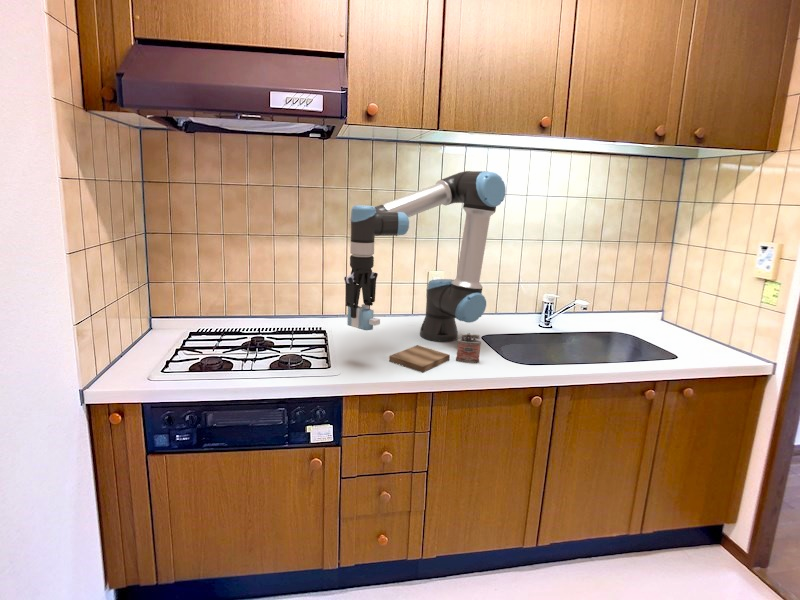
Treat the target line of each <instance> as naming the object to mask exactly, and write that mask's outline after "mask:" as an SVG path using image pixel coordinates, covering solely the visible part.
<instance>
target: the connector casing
mask: <svg viewBox="0 0 800 600" xmlns="http://www.w3.org/2000/svg"><path fill="white" fill-rule="evenodd" d="M358 308H360V309H359V328H358V329H359V330H362V331H372V330H373V329H374V327H375V326H379V325H381V319H380V318H377V317H374V314H375V313H374V309H371V308H370V309H367V308H364V307H362V306H360V305H358ZM351 319H352V317H351V308H350V307H348V306H347V323H346V324H347V326H349V327H352V326H351Z"/></svg>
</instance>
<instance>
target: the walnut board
mask: <svg viewBox="0 0 800 600" xmlns="http://www.w3.org/2000/svg"><path fill="white" fill-rule="evenodd" d="M450 357H451V356H450V354H448V353H445V352H442V351H438V350H435V349H432V348H429V347H425V346H422V345H418V344H417V345H413V346H412V347H409V348H406V349H403V350H401V351H399V352H396V353H393V354H390V355H389V362H390V361H391V362H390V363H393V362H394V363H393V364H396V363H397V365H399V364H400V365H399V366H402V365H403V366H402V367H405V366H406V367H405V368H408V369H411V370H413V371H417V372H420V373H425V372H427V371H429V370H432V369H433V368H435V367H437V366H440V365H442V364H444V363H446V362H449V361H450Z"/></svg>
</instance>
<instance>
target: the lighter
mask: <svg viewBox="0 0 800 600" xmlns="http://www.w3.org/2000/svg"><path fill="white" fill-rule="evenodd" d="M480 337H481V336H480V335H479V334H473V333H472V334H471V333H470V332H469V333H461V338H457V352H456V357H455V360H456V362H460V363H466V364H468V363H469V364H479V363H480V351H481V345H482V341H481V340H480Z"/></svg>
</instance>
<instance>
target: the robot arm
mask: <svg viewBox="0 0 800 600" xmlns="http://www.w3.org/2000/svg"><path fill="white" fill-rule="evenodd" d="M506 191H507V190H506V184H505V182H504V180H503V178H502V176H500V175H499V174H498V173H497V172H491V171H488V170H487V171H485V170H484V171H478V170H477V171H474V170H473V171H471V170H465V171H461V172H460V171H459V172H457V173H455V174H452V175H449V176H447V177H444V178H441V179H439V180H437V181H436V182H435V184H433V185H431V186H428V187H426V188H423V189H420V190H417V191H414V192H412V193H410V194H407V195H404V196H401V197H399V198H396V199H393V200H391V201H387V202H385V203H382V204H379V205H376V206H373V205H366V204H365V205H362V204H361V205H358V204H357V205H353V206H352V208H351V214H350V219H349V220H350V245H349V247H350V249H349V250H350V254H351V255H350V257H349V267H350V268H351V271H350V275H348V276H344V278H343V279H344V283H345V306H346V307H347V308H348V307H350V308H351V317H352V319H351V326H350V327H351V328H356V329H359V309H360V308H358V306H359V302H360V295H361V293H362V302H363V304H361V307H364V308H367V309H371V307H372V306H373V304H374V303H375V301H376V289H377V278H378V275H379V274H378V273H377V272H373V270H372V269H373V268H374V266H375V265H374V263H375V262H374V261H375V257H374V255H375V237H378V236H379V237H380V236H389V237H390V236H391V237H392V236H393V237H394V236H395V237H397V236H404V235H406V234H407V232H408V231H409V228H410V220H409V218H411V217H413V216H415V215H418V214H420V213H421V214H422V213H423V212H426V211H429V210H432V209H434V208H436V207H439V206H441V205H443V206H449V205H452V204H453V205H454V204H459V203H460V204H463V205H462V209H463V211H464V212H465V214H466V215H465V220H464V227H463V232H462V239H461V244H460V245H461V246H460V252H459V258H458V265H457V270H456V277H455V279H452V278H451V279H450V278H449V279H448V278H441V279H439V278H438V279H431V280H429V281H428V283H427V288H426V303H425V306H426V307H425V317H424V320H423V321H422V325H421V327H420V331H419V336H420V337H421V338H423V339H425V340H428V341H433V342H441V343H442V342H444V343H445V342H453V341H456V340H458V339H459V338H458V336H459V331H458V326H457V323H456V320H458V321H460V322H464V323H469V324H470V323H474V322H476V321H477V320H479V318H481V317H483V315H484V314H485V311H486V308H487V299H486V297H485V295H483V293H482V292H483V285H482V284H481V282H480V279H481V275H482V268H483V267H482V266H483V264H484V263H483V262H484V255H485V250H486V243H487V240H488V239H487V238H488V232H489V231H488V230H489V225H490V219H491V216H493V215H494V214H495V213H496V210H497V207H498V206H500V205H501V204H502V202H503V201H504V199H505V197H506V193H507V192H506Z"/></svg>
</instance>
